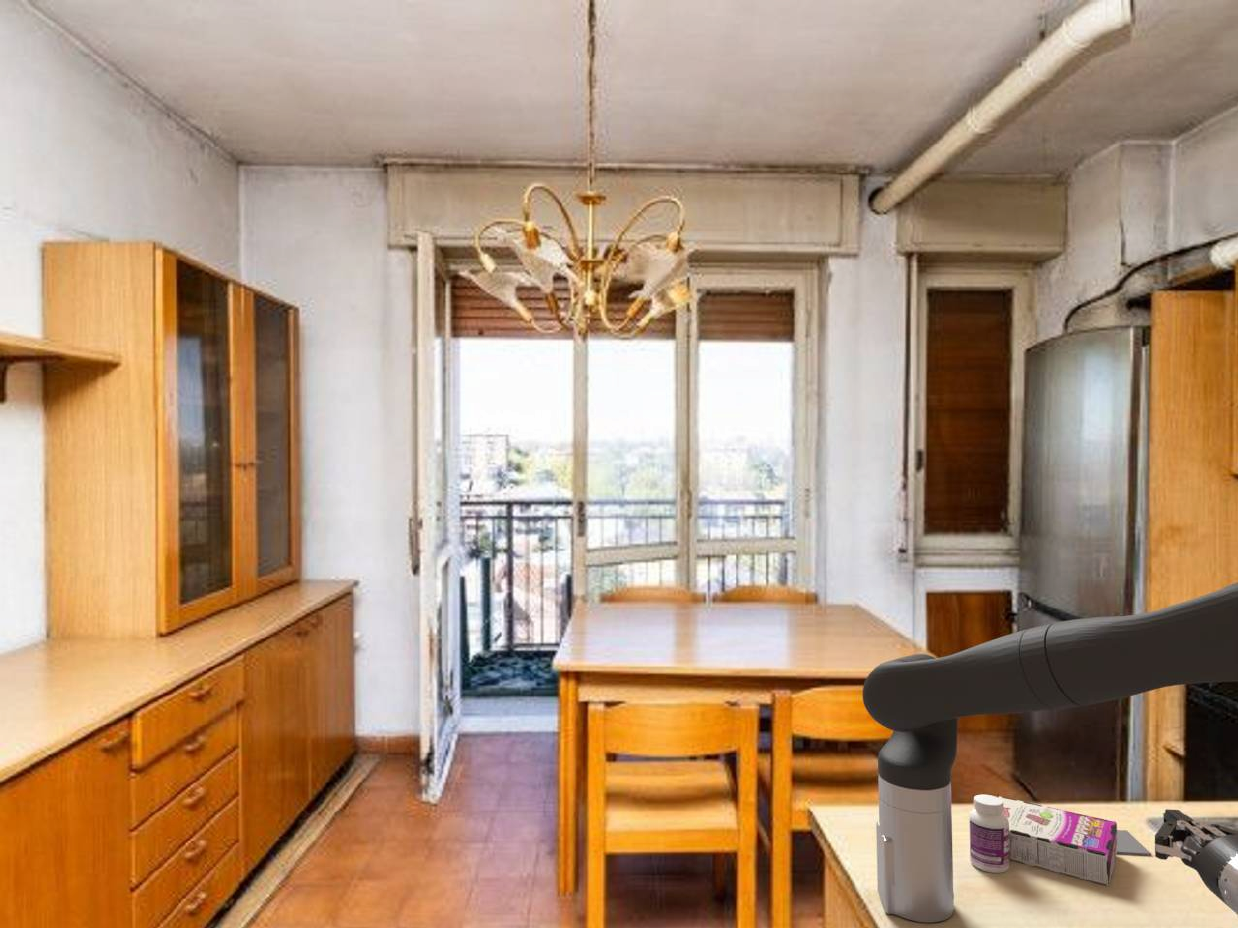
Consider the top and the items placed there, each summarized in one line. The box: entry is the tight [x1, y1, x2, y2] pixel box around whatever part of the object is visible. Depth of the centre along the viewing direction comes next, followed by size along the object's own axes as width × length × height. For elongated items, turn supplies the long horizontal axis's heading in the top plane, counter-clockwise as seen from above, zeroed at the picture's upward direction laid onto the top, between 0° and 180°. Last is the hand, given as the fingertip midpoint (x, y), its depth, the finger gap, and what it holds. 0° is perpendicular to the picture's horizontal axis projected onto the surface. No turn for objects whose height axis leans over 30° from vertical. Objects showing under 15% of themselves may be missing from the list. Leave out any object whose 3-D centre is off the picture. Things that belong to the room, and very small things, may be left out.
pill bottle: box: [968, 794, 1010, 874], centre depth 115 cm, size 5×5×10 cm
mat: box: [1116, 829, 1152, 857], centre depth 121 cm, size 11×8×1 cm
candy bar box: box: [998, 795, 1118, 887], centre depth 118 cm, size 11×5×16 cm
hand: (1170, 816), depth 101 cm, fingers closed
